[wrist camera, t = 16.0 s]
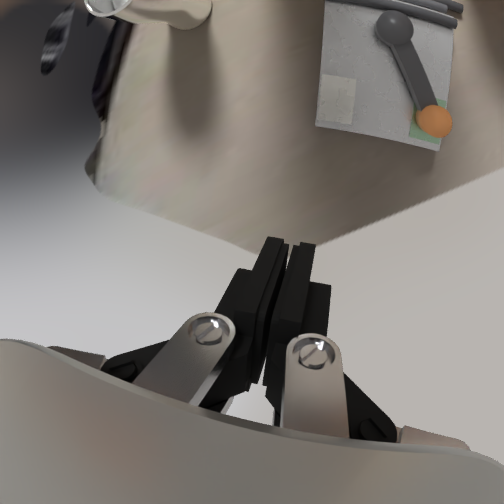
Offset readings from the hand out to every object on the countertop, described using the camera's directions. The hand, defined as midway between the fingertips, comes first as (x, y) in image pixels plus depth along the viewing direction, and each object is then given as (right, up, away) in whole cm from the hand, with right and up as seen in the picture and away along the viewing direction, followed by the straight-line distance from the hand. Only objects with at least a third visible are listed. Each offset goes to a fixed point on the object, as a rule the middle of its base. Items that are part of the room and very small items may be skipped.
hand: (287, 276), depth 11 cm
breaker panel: (+13, +21, +16) cm, 30 cm away
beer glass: (-9, +30, +18) cm, 36 cm away
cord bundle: (+14, +28, +12) cm, 33 cm away
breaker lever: (+15, +19, +14) cm, 28 cm away
